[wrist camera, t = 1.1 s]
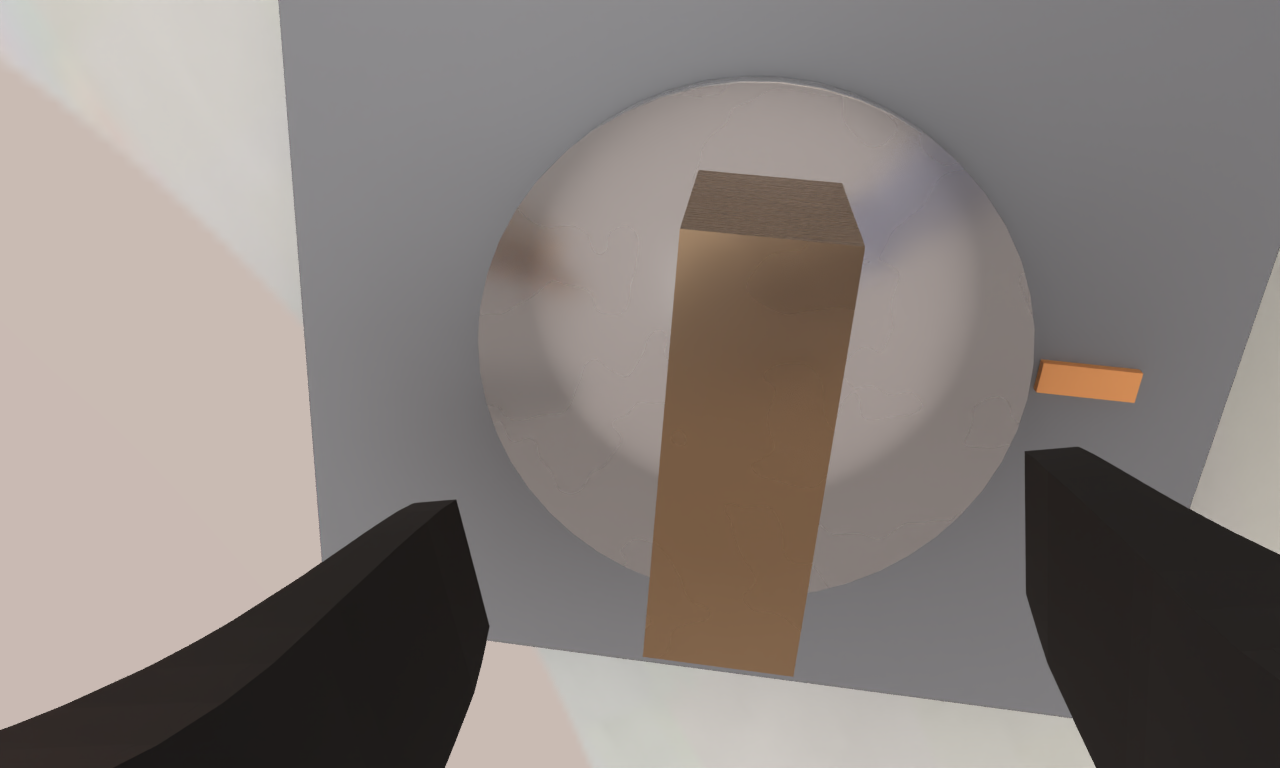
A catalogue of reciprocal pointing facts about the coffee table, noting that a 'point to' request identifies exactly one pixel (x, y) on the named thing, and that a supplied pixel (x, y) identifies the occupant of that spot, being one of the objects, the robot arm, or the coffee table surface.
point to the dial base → (841, 58)
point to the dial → (754, 352)
